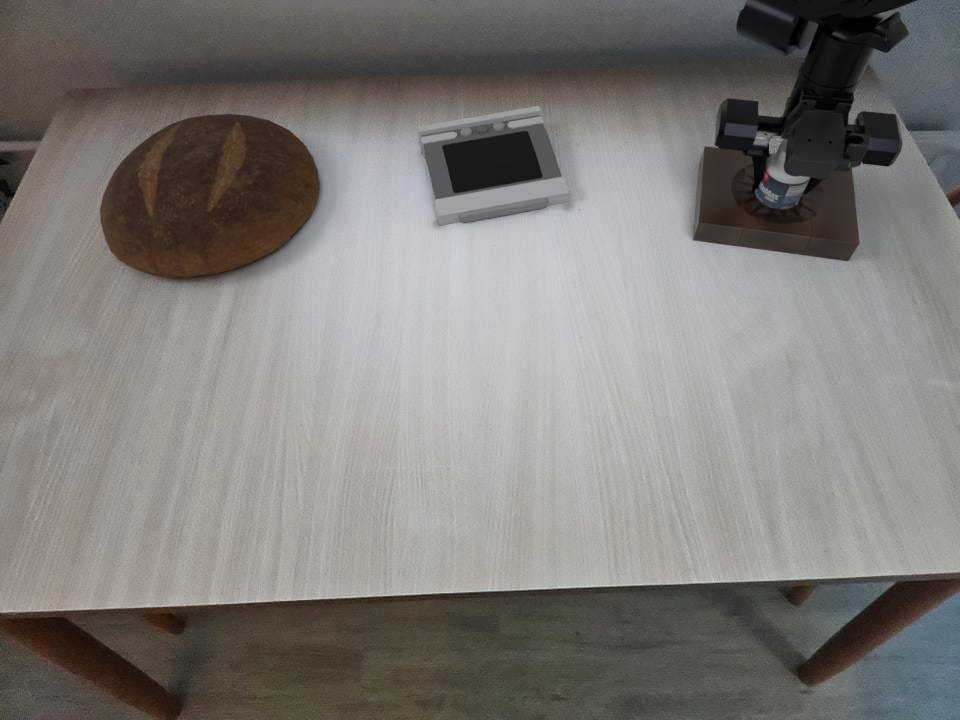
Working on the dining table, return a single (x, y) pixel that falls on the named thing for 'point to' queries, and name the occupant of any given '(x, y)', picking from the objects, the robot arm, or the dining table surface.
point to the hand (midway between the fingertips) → (779, 189)
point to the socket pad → (773, 211)
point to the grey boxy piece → (491, 166)
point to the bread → (208, 196)
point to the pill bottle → (779, 183)
